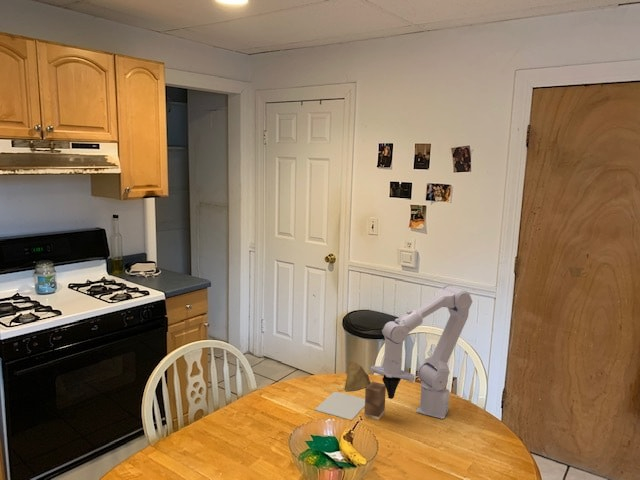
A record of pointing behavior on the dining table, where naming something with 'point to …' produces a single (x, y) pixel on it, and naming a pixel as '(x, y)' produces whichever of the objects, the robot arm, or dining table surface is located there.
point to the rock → (356, 377)
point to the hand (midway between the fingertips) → (391, 397)
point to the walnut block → (375, 400)
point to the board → (341, 405)
